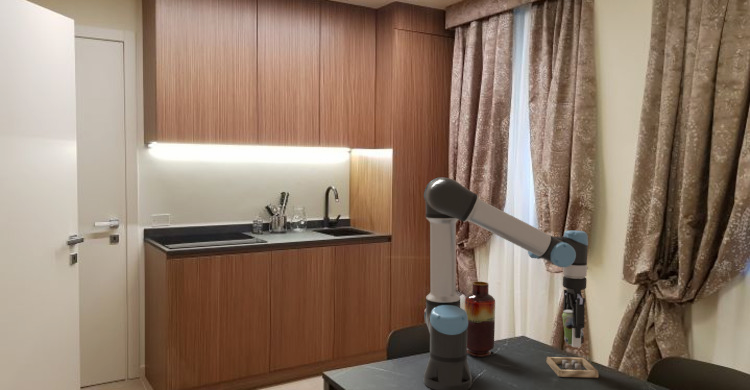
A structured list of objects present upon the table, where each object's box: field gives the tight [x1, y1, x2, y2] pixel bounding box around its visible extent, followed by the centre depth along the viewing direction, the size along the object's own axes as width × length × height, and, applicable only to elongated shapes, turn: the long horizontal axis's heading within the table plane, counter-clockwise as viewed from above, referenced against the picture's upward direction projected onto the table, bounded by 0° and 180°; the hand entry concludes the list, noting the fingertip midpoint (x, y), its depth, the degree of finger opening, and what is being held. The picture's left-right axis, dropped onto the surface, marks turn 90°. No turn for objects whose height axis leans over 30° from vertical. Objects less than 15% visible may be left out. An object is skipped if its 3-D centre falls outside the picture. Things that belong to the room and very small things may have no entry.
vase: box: [464, 281, 496, 358], centre depth 198 cm, size 11×11×26 cm
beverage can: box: [561, 309, 585, 347], centre depth 182 cm, size 6×7×12 cm
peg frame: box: [546, 356, 599, 378], centre depth 183 cm, size 13×13×2 cm
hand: (572, 343), depth 182 cm, fingers closed on beverage can, 6 cm apart
